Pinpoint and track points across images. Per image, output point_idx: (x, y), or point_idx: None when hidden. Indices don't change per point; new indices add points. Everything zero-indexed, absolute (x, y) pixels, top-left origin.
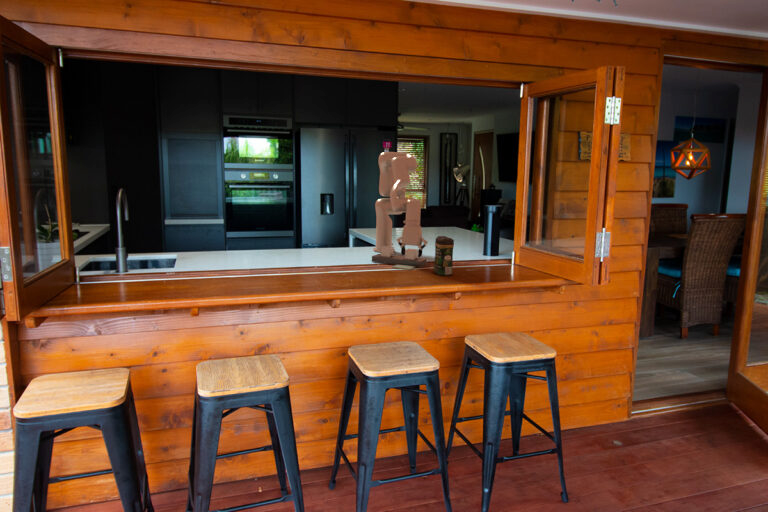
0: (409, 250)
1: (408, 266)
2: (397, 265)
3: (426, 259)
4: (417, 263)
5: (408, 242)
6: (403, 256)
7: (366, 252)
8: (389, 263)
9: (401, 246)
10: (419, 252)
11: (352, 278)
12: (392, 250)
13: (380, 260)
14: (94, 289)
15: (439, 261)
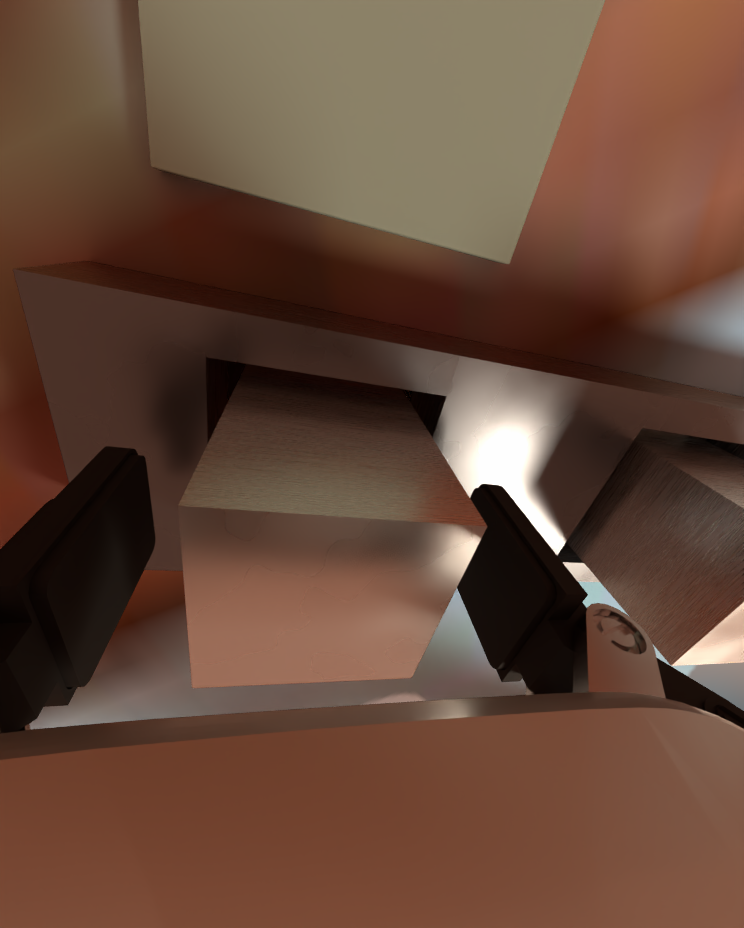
0: (363, 517)
1: (288, 126)
2: (509, 163)
3: None
4: (131, 281)
5: (532, 878)
6: None
7: (683, 671)
8: (600, 368)
9: (623, 636)
10: (41, 518)
11: None
12: (662, 585)
13: (724, 397)
14: None
15: None
